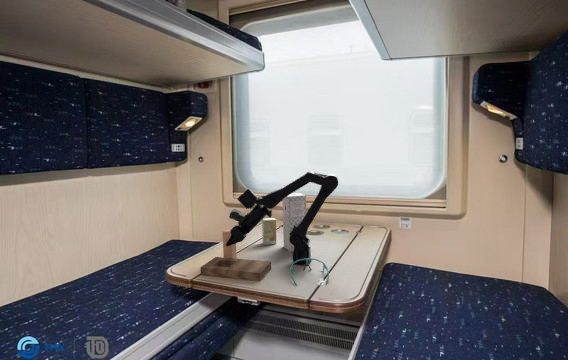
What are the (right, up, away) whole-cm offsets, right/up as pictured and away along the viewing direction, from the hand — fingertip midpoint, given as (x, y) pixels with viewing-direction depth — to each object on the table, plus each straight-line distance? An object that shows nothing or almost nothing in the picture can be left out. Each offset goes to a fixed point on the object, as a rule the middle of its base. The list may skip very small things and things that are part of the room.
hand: (229, 242), depth 144 cm
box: (+28, -6, +16) cm, 33 cm away
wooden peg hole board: (+5, -9, -12) cm, 16 cm away
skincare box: (+16, -5, +24) cm, 29 cm away
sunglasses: (+32, -10, -18) cm, 38 cm away
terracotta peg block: (0, -8, +1) cm, 8 cm away
